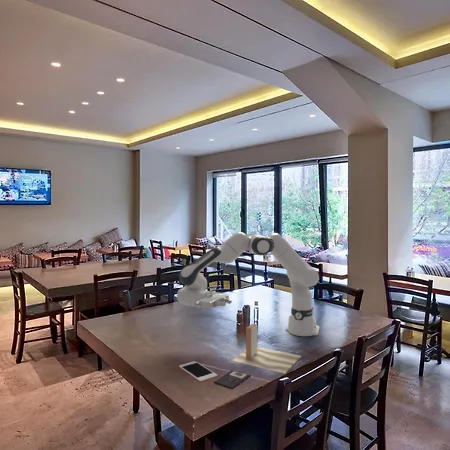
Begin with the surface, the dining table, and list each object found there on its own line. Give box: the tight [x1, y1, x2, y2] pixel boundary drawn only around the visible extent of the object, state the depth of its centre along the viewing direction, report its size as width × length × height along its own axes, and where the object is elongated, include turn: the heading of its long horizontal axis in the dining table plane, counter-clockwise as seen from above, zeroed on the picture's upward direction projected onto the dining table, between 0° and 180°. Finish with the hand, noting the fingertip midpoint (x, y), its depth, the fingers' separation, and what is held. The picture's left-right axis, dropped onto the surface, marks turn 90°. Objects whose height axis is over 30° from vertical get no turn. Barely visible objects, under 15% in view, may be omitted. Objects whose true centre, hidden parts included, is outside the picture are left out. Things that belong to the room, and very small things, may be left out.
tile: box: [245, 323, 259, 358], centre depth 175 cm, size 7×3×14 cm, turn 150°
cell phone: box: [178, 360, 218, 383], centre depth 158 cm, size 9×18×1 cm, turn 36°
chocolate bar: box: [213, 370, 252, 390], centre depth 152 cm, size 9×1×18 cm
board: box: [231, 346, 302, 376], centre depth 171 cm, size 22×26×1 cm
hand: (228, 303), depth 181 cm, fingers open, 5 cm apart
